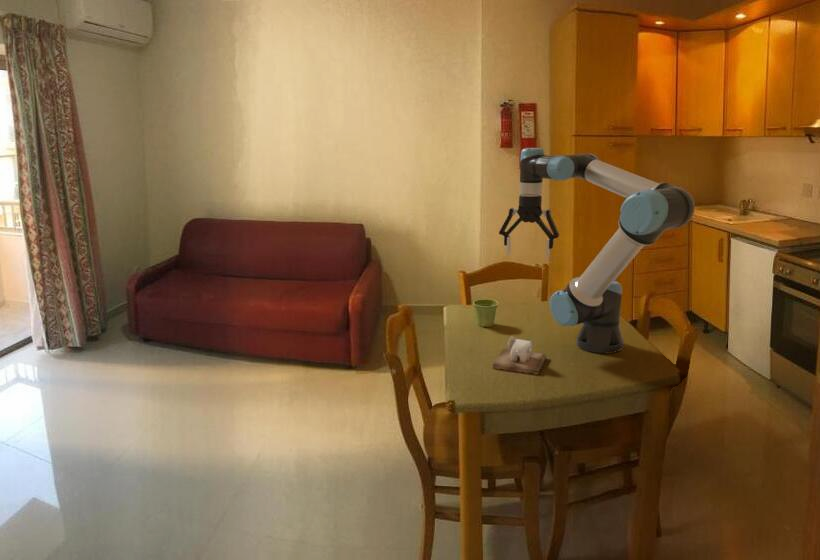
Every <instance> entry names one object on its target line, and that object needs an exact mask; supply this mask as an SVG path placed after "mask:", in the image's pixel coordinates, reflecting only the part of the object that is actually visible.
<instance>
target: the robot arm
mask: <svg viewBox="0 0 820 560" xmlns="http://www.w3.org/2000/svg"><path fill="white" fill-rule="evenodd" d="M519 164H520V165H519V189H518V192H519V196H518V208H514V207H511V208H509V209H508V215H507V217H506V218H505V221H504V222H503V224H502V226H501V228H500V230H499V231H498V234H499V235H501V236H503V245H504V246H506V257H507V256H508V257H509V256H510V255H511V251H512V250H511V245H512V242H511V241H512V236H511V235H510V234H511V233H512V232H513V231H514V229H516V228H517V227H518V226H519V224H520V223H521V222H523V223H531V224H534V223H536V224H537V225H538V226H539V227H540V229H541V230H542V231H543V233H544V234H545V235H546V236H547V239H546V249H545V250H546V251H545V259H547V260H548V259H549V258H550V251H551V249H553V248H554V239H558V238H559V237H560V233H559V230H558V229H557V226H556V224H555V222H554V220H553V217H552V214H551V213H552V211H551V209H546V210H544V209H543V210H542V202H543V200H542V199H543V197H542V195H541V194H542V193H543V180H544V179H546V180H547V179H548V180H552V181H553V180H554V181H567V180H569V179H577V178H578V179H582V180H584V181H585V182H588V183H591V184H593V185H595V186H598V187H599V188H603V189H605V190H607V191H609V192H612V193H614V194H616V195H617V196H621V197H623V198H626V199H625V200H624V201H623V203H622V204H621V207H620V211H619V212H620V215H619V219H618V222H617V224H618V229H617V230H616V231H615V232H614V234H613V235H612V237H610V239H609V240H608V241H607V242H606V243H605V245H604V246H603V248H602V249H601V250H600V251H599V253H598V254H597V255H596V256H595V258H594V259H593V260H592V261H591V262H590V264H589V265H588V266H587V268H585V270H584V271H583V273H582V274H581V275H580V276H578V277H574V278H572V279H571V280H570V281H569V282H568V284H567V285H566V286H565V288H564V289H561V290H560V289H559V290H557V291H555V292H554V293H552V295H551V296H550V299H549V309H550V313H551V316H552V318H553V319H554V321H556V323H557V324H559V325H561V326H563V327H574V326H577V325H581V327H580V330H579V331H578V334H577V336H576V346H577V347H578V348H579V349H581V350H584V351H587V352H590V351H592V352H591V353H595V352H599V353H598V354H608V353H607V352H615V351H618V350H620V349H622V348H624V339H623V335H622V331H621V327H620V321H621V320H620V318H621V308H622V296H623V291H622V290H623V287H622V284H621V283H620V282H618V281H616V279H617V278H619V276H620V275H621V274H622V273H623V271H624V270H625V269H626V268H627V267H628V265H629V264H631V262H632V260H633V259H634V258H635V257H636V256H637V255H638V254H639V252H640V251H641V250H642V249H643V248H644V247H645V246H646V247H647V246H652V245H653V244H655V242H656V241H657V240H658V239H659V238H660V237H661V235H662V234H663V233H664V232H666V231H670V230H676V229H678V228H679V229H680V228H681V227H684V226H685V225H687V224H688V223H689V222H690V221H691V220H692V218H693V216H694V213H695V209H696V208H695V206H696V205H695V201H694V198H693V196H692V194H690V193H689V191H687V190H685V189H684V188H682V187H679V186H677V185H674V184H671V183H668V182H665V181H664V182H663V181H662V182H660V183H658V182H656V181H653V180H651V179H648V178H646V177H644V176H640V175H638V174H635V173H632V172H629V171H628V170H625V169H622V168H620V167H617V166H614V165H612V164H610V163H607V162H604V161H601V160H600V159H599V158H598V156H597V155H595V154H593V153H578V154H577V153H576V154H562V155H561V154H560V155H547V154H545V149H543V148H541V147H526V148H522V149H521V151H520V160H519ZM516 213H517V215H518V216H519V218H517V220H516V221H515V222H514V223H513V224H512V225H511V226H510V227H509V228H508V229H507V227H508V225H509V224H510V222H511V220H512V218H513V216H515V215H516ZM542 215H544V217H546V220H547V223H548V225H549V227H550V229H551V231H550V229H549V227H548V226H547V225H546V224H545V222H544V221H543V220H542V218H541V216H542ZM506 229H507V231H506ZM622 350H623V349H622ZM615 353H616V352H615Z"/></svg>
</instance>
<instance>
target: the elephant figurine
mask: <svg viewBox="0 0 820 560" xmlns="http://www.w3.org/2000/svg"><path fill="white" fill-rule="evenodd" d="M506 345H507V349H510V350H511V354H510V355H511V360H513V361H517V358H519V357H520V362H523V363H524V362H526V360H528V359H529V356H530V352H533V339H531V340H525V339H519V338H515V337H514V336H513V335H511V336H510V337H509V339H508V341H507V344H506Z"/></svg>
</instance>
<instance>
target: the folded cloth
mask: <svg viewBox="0 0 820 560" xmlns="http://www.w3.org/2000/svg"><path fill="white" fill-rule="evenodd" d="M510 354H511V350H510V349H509V348H503V349H502V351H500V353H499V354H498V356H497V357H496V359H495V361H493V363H492V369H493V368H494V369H495V370H500V369H503V370H502V371H508V370H509V372H515V371H517V372H516V373H522V372H524V374H529V373H539V374H540V372H541V370H542V368H543V366H544V364H543V363H545V362H544V361H546V359H547V354H546V353H542V352H541V353H540V352H534V351H532V352H530V356H529V359H528V360H526V362H524V363H523V362H520V357H519V358H517V361H513V360H511V355H510ZM542 365H543V366H542ZM541 367H542V368H541ZM540 369H541V370H540ZM539 371H540V372H539Z"/></svg>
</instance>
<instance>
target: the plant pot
mask: <svg viewBox="0 0 820 560" xmlns="http://www.w3.org/2000/svg"><path fill="white" fill-rule="evenodd" d="M472 304H473V306H474V311H475V315H476V316H475V317H476V324H477V326H479V327H481V328H483V327H487V328H490V327H493V326H494V325H495V318H496V313H497V312H496V311H497V308H498V306H499V305H500V303H499V302H498V301H497V300H495V299H489V298H482V299H481V298H480V299H476V300H474V301H473V302H472Z"/></svg>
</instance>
